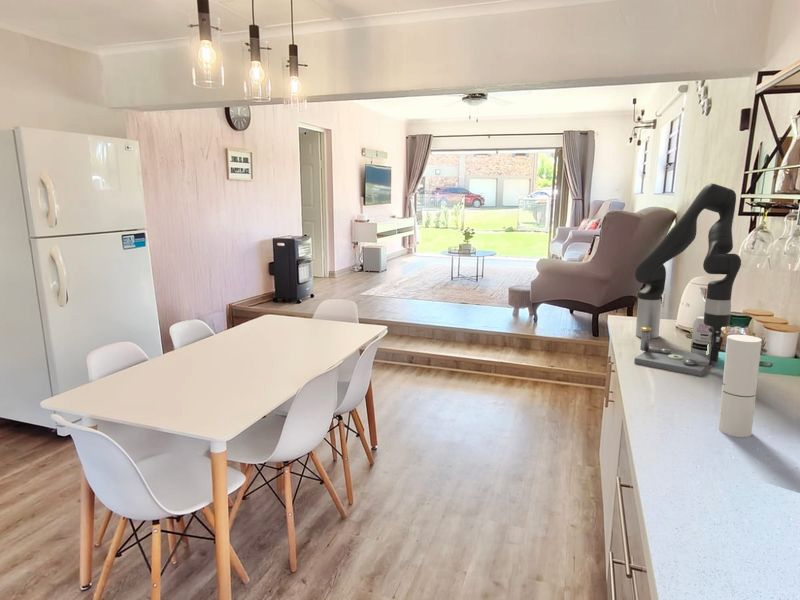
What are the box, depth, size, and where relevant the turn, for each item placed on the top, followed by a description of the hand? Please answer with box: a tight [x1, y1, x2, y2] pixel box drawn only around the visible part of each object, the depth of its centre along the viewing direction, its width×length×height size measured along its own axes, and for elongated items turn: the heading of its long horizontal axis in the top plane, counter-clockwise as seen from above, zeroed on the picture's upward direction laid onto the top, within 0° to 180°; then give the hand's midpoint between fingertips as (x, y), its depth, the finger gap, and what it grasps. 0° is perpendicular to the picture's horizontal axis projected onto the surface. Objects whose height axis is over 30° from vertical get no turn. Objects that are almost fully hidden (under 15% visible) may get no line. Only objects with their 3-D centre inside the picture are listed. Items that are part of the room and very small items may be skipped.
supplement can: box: [690, 315, 711, 355], centre depth 189 cm, size 8×8×15 cm
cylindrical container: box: [718, 334, 763, 438], centre depth 126 cm, size 7×7×25 cm
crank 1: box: [639, 327, 671, 354], centre depth 189 cm, size 11×4×9 cm, turn 66°
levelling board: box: [633, 346, 712, 377], centre depth 183 cm, size 20×22×2 cm
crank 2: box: [683, 339, 720, 367], centre depth 173 cm, size 11×4×9 cm, turn 68°
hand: (712, 359), depth 172 cm, fingers closed on crank 2, 3 cm apart
